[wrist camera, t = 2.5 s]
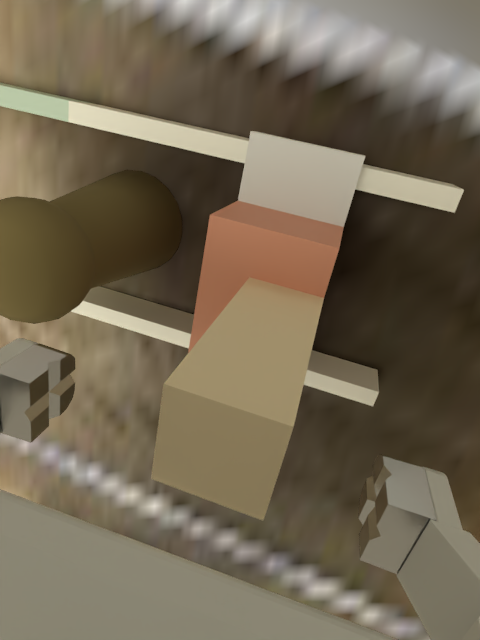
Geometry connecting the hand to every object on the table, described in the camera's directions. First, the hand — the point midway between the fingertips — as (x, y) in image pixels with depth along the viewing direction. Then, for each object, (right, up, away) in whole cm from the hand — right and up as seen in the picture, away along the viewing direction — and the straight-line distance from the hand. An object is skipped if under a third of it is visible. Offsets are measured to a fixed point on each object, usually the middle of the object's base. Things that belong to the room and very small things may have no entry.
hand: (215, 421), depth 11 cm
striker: (+3, +6, +13) cm, 14 cm away
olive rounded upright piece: (-6, +9, +15) cm, 18 cm away
